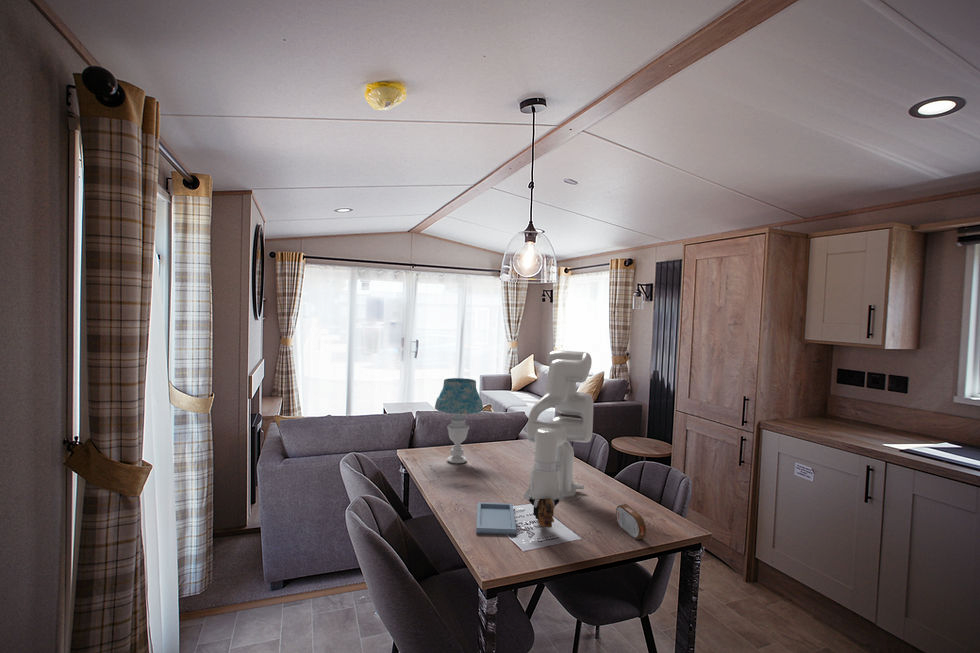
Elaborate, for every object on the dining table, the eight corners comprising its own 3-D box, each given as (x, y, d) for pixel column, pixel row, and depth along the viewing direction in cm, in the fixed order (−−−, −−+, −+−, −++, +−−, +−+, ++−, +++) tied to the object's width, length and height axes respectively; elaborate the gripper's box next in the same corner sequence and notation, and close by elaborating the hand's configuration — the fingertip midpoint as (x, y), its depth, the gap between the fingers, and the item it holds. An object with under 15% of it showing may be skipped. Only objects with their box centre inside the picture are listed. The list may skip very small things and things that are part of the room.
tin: (646, 543, 152) (647, 518, 152) (638, 544, 152) (639, 519, 151) (621, 523, 167) (622, 500, 167) (613, 524, 166) (615, 500, 166)
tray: (512, 508, 176) (512, 503, 176) (515, 535, 154) (516, 529, 154) (477, 507, 176) (477, 502, 175) (476, 533, 154) (476, 527, 154)
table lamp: (484, 455, 241) (487, 378, 240) (476, 470, 217) (479, 385, 216) (439, 451, 244) (442, 376, 243) (426, 465, 221) (430, 382, 220)
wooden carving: (529, 514, 167) (530, 486, 167) (541, 513, 168) (542, 486, 168) (544, 536, 151) (546, 506, 151) (558, 535, 152) (559, 505, 152)
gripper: (567, 462, 163) (565, 513, 163) (520, 460, 162) (518, 512, 163) (571, 469, 155) (569, 523, 156) (521, 467, 155) (519, 521, 156)
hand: (543, 517), depth 160 cm, fingers closed on wooden carving, 4 cm apart
